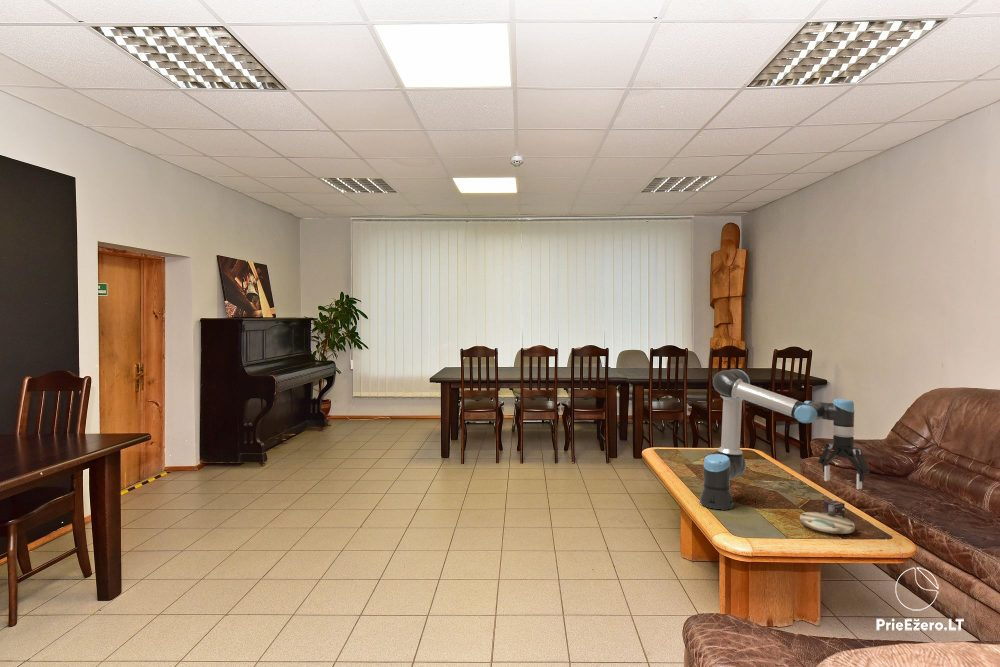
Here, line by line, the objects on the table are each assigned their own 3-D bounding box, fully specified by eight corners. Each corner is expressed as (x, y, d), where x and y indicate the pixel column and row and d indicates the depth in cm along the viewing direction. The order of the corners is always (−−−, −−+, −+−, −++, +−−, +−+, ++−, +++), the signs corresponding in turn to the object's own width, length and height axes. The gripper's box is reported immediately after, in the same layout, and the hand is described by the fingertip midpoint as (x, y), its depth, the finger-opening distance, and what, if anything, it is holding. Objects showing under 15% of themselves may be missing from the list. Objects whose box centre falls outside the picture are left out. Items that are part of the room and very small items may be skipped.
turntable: (848, 537, 218) (848, 521, 218) (793, 524, 232) (793, 509, 232) (859, 524, 232) (859, 509, 232) (807, 513, 246) (807, 498, 246)
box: (834, 521, 240) (834, 504, 240) (822, 516, 246) (822, 500, 246) (844, 519, 242) (845, 503, 242) (833, 515, 248) (833, 499, 248)
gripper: (879, 440, 224) (878, 491, 224) (820, 429, 246) (819, 476, 246) (869, 441, 220) (868, 493, 220) (809, 431, 242) (809, 478, 243)
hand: (842, 484), depth 233 cm, fingers open, 13 cm apart
